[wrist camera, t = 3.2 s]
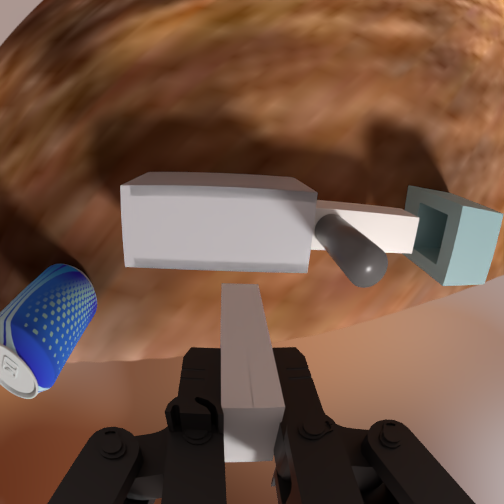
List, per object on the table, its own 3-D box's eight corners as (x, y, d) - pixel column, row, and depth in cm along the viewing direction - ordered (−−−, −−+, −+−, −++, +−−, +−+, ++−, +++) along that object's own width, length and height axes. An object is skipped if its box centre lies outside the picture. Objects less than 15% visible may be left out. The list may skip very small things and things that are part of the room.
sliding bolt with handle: (157, 192, 26) (114, 229, 16) (400, 208, 29) (471, 246, 18) (158, 230, 28) (120, 286, 17) (394, 241, 30) (458, 289, 19)
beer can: (110, 313, 35) (62, 407, 20) (61, 321, 35) (8, 403, 20) (85, 252, 32) (11, 330, 17) (36, 266, 31) (-37, 335, 17)
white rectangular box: (148, 171, 29) (120, 185, 21) (293, 177, 30) (317, 192, 22) (149, 233, 31) (125, 266, 23) (287, 238, 33) (307, 273, 25)
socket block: (408, 185, 32) (462, 205, 22) (449, 192, 32) (503, 213, 23) (396, 249, 34) (442, 285, 25) (437, 251, 35) (484, 284, 26)
